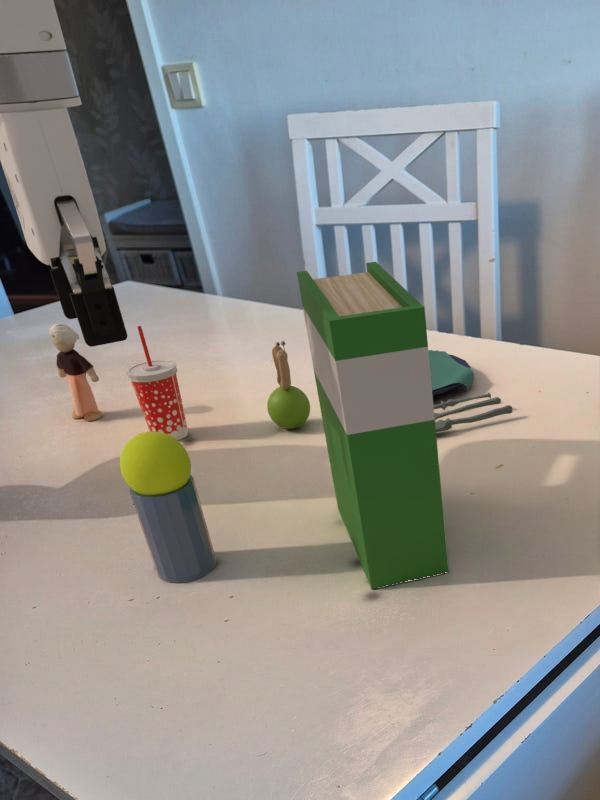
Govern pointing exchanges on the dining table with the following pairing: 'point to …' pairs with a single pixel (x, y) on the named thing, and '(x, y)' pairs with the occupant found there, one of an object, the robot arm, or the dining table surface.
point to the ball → (155, 464)
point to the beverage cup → (159, 394)
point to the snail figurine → (286, 395)
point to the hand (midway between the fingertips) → (95, 328)
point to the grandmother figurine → (75, 372)
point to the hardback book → (378, 420)
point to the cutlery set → (450, 375)
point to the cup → (176, 533)
